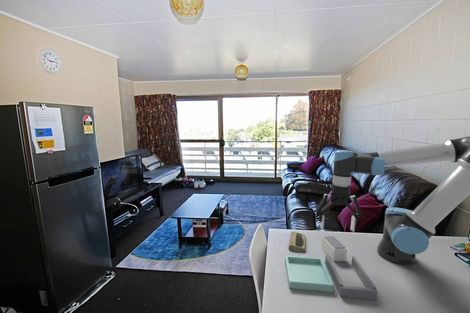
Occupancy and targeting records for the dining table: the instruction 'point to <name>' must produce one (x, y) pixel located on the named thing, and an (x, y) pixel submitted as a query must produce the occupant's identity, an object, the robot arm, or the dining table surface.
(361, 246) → the dining table surface
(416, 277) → the dining table surface
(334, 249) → the grey bevelled prism
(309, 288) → the tray
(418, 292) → the dining table surface
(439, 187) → the robot arm
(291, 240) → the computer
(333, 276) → the tray
